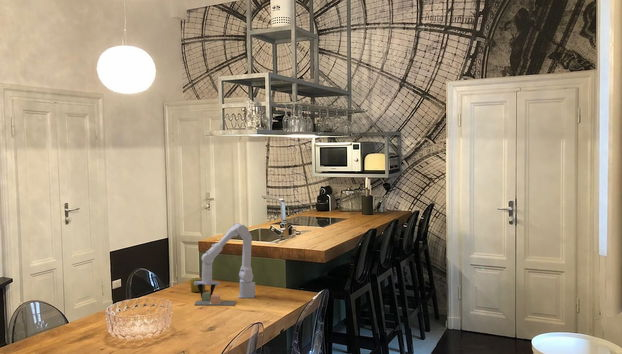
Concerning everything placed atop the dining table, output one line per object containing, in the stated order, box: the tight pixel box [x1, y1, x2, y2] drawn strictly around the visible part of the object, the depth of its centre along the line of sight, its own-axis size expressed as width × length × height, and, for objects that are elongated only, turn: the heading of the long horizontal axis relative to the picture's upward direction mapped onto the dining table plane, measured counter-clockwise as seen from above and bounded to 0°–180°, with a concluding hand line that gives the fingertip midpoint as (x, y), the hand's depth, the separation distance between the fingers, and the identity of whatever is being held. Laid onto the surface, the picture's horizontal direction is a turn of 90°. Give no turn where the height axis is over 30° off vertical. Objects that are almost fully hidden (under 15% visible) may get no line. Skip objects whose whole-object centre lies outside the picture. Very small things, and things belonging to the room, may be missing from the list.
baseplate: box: [194, 300, 236, 307], centre depth 288 cm, size 22×8×1 cm, turn 94°
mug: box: [190, 277, 206, 293], centre depth 317 cm, size 12×10×10 cm
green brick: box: [201, 291, 211, 301], centre depth 295 cm, size 5×5×4 cm
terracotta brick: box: [210, 293, 221, 304], centre depth 288 cm, size 5×5×4 cm
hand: (206, 297), depth 295 cm, fingers closed on green brick, 5 cm apart
